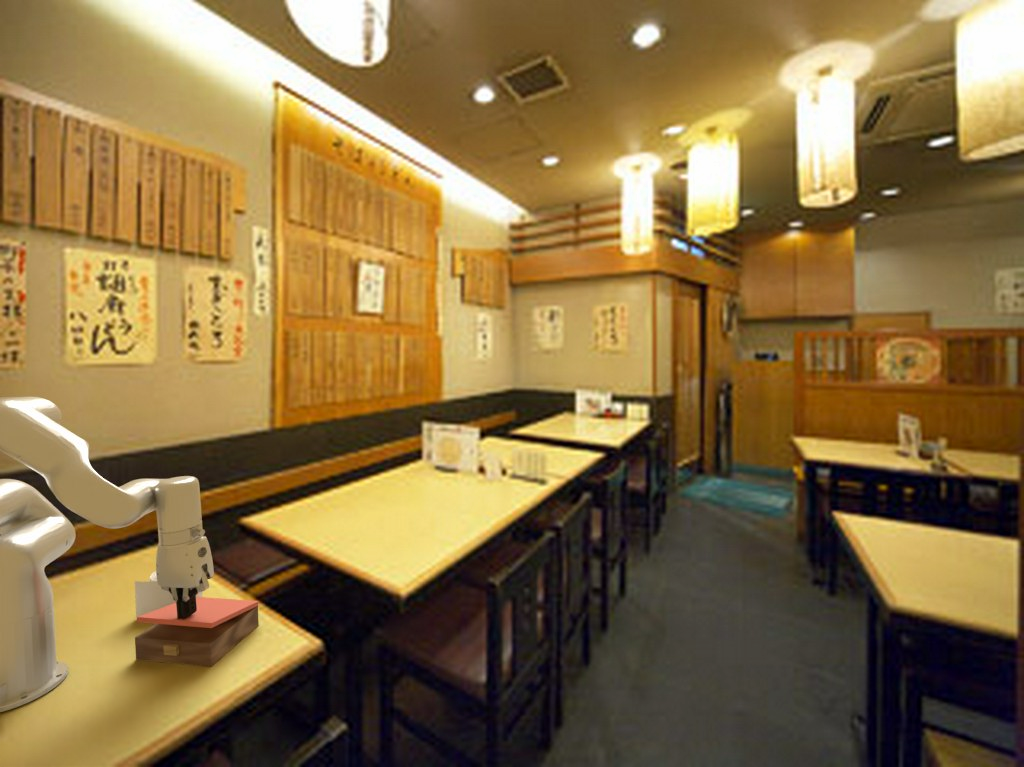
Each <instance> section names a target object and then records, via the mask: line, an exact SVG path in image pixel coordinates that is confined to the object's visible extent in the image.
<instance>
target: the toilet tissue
mask: <svg viewBox="0 0 1024 767" xmlns="http://www.w3.org/2000/svg"><path fill="white" fill-rule="evenodd" d="M149 575H150V576H149V581H138V580H134V593H135V594H134V596H135V597H134V598H135V600H134V601H135V617H136V618H137V617H139V616H141V615H144V614H147V613H149V612H152V611H155V610H157V609H160V608H163V607H165V606H168V605H171V604H174V603H176V602H177V601H174V600H173V596H172V594H171V593H170V592H169V591H166V590H163V589H161V586H160V585H158V582H157V577H156V570H155V571H153V572H152V573H151V574H149ZM191 589H192V588H191ZM191 589H190V590H191ZM196 597H203V591H202V592H198V594H197V595H196Z"/></svg>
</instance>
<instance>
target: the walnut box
mask: <svg viewBox="0 0 1024 767" xmlns="http://www.w3.org/2000/svg"><path fill="white" fill-rule="evenodd" d="M259 624H260V623H259V605H258V606H256V607H254V608H252V609H250V610H248V611H246V612H244V613H242V614H240V615H238V616H235V617H233V618H231V619H229V620H227V621H225V622H223V623H221V624H219V625H217V626H215V627H213V628H204V627H191V626H179V625H167V624H154V625H151V626H150V627H149V628H147V629H146V630H145V631H143V632H141V633H140V634H138V635H136V636H135V637H134V640H135V643H134V644H135V660H136V661H145V662H146V661H148V662H156V663H157V662H158V663H166V664H177V665H178V664H179V665H189V666H201V667H211V668H212V667H213V666H214V665H215V664H216V663H217V662H218V661H219V660H221V659H222V658H223V657H224V656H225V655H226V654H228V653H229V652H230V651H232V649H234V647H236V646H237V645H238V644H239V643H240V642H241V641H242V640H243V639H245V638H246V637H247V636H249V634H251V633H252V632H253V631H254V630H256V628H258V627H259V626H260V625H259Z"/></svg>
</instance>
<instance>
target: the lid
mask: <svg viewBox="0 0 1024 767" xmlns="http://www.w3.org/2000/svg"><path fill="white" fill-rule="evenodd" d="M196 606H197V611H196V612H195V613H193V614H192V615H191V616H189V617H188V618H186V619H182V618H181V619H178V618H177V606H176V603H174V604H171V605H168V606H165V607H163V608H160V609H157V610H155V611H152V612H149V613H147V614H144V615H141V616H139V617H136V620H135V623H145V624H154V625H155V624H167V625H179V626H191V627H204V628H213V627H215V626H217V625H219V624H221V623H223V622H225V621H227V620H229V619H231V618H233V617H235V616H238V615H240V614H242V613H244V612H246V611H248V610H250V609H252V608H254V607H256V606H258V607H259V600H249V599H248V600H246V599H232V598H222V597H221V598H218V597H217V598H216V597H208V596H207V597H205V596H202V597H196Z"/></svg>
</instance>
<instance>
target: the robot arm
mask: <svg viewBox="0 0 1024 767" xmlns="http://www.w3.org/2000/svg"><path fill="white" fill-rule="evenodd" d="M62 415H63V414H62V412H61V409H60V408H59V407H58V406H57V405H56V403H53V402H52V401H51V400H48V399H46V398H44V397H43V398H42V397H40V396H8V397H7V396H6V397H5V396H3V397H2V396H1V397H0V452H1V453H3V454H5V455H6V456H8V457H10V458H12V459H13V460H15V461H16V462H19V464H22V465H24V466H25V467H27V468H29V469H31V471H33V472H35V473H38V474H39V475H40V476H42V477H43V478H44V480H45V482H46V484H47V486H48V488H49V490H50V491H51V493H53V495H54V496H55V498H56V499H57V500H58V501H59V503H61V504H62V505H63V506H64V507H65V508H66V509H68V510H70V511H71V512H73V513H75V514H77V516H79V517H82V518H83V519H85V520H87V521H88V522H90V523H93V524H94V525H97V526H99V527H102V528H105V529H106V528H107V529H121V528H125V527H128V526H131V525H133V524H134V523H136V522H137V521H138V520H140V519H141V518H143V517H145V515H148V514H150V513H151V512H154V511H156V521H157V532H158V534H157V536H158V544H157V547H156V558H155V560H156V561H155V571H156V577H157V582H158V585H160V586H161V589H163V590H166V591H169V592H170V593H171V594H172V596H173V600H174V601H177V602H176V606H177V618H178V619H181V618H182V619H186V618H188V617H189V616H191V615H192V614H193V613H195V612H196V611H197V606H196V595H197V594H198V592H202V593H203V592H205V591H206V590H209V588H210V583H209V580H210V579H212V578H213V577H214V576H215V575H214V574H215V571H214V561H213V556H212V551H211V547H210V543H209V541H208V538H207V536H206V535H205V533H206V530H205V529H203V520H202V519H203V518H202V517H203V516H202V503H201V490H200V482H199V479H198V478H197V477H195V476H191V475H184V476H183V475H182V476H175V477H170V478H169V477H168V478H138V479H133V480H130V481H129V482H127V483H125V484H123V485H121V486H117V485H116V484H113V483H112V482H110V481H108V480H107V479H106V478H103V476H101V475H100V474H99V473H98V472H97V471H96V470H95V469H94V468H93V466H92V465H91V463H90V459H89V458H90V457H89V455H90V454H89V453H90V443H88V441H87V440H85V439H84V438H82V437H80V436H79V435H77V434H76V433H74V432H72V431H70V430H69V429H67V428H66V427H64V426H63V425H61V421H62V419H63V418H62V417H63V416H62ZM75 540H76V528H75V527H74V526H73V523H72V522H71V521H70V520H69V519H68V517H66V516H65V514H63V512H61V511H60V510H59V509H58V508H57V507H56V506H54V504H53V503H52V502H50V501H49V500H48V499H47V498H46V497H45V496H44V495H43V494H42V493H41V492H40V491H39V490H38V489H36V488H35V487H33V485H30V484H28V483H26V482H24V481H22V480H17V479H14V478H13V479H12V478H0V713H3V712H6V711H11V710H13V709H16V708H18V707H21V706H23V705H25V704H28V703H31V702H33V701H34V700H37V699H39V698H40V697H43V696H44V695H46V694H48V693H49V692H50V691H52V690H53V689H55V688H56V687H57V686H58V685H60V684H61V683H62V682H63V681H65V679H66V677H67V675H68V673H69V666H68V664H67V663H66V662H63V661H59V660H57V645H56V644H57V643H56V641H57V640H56V627H55V626H56V624H55V622H56V621H55V608H54V607H55V606H54V593H53V588H52V584H51V582H50V580H49V579H48V577H47V575H46V572H45V568H46V566H48V565H49V564H50V563H52V562H54V561H55V560H56V559H58V558H59V557H61V556H62V555H64V554H65V553H66V552H67V551H68V550H70V549H71V547H72V546H73V544H74V543H75ZM191 588H192V589H191ZM190 589H191V590H190Z"/></svg>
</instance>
